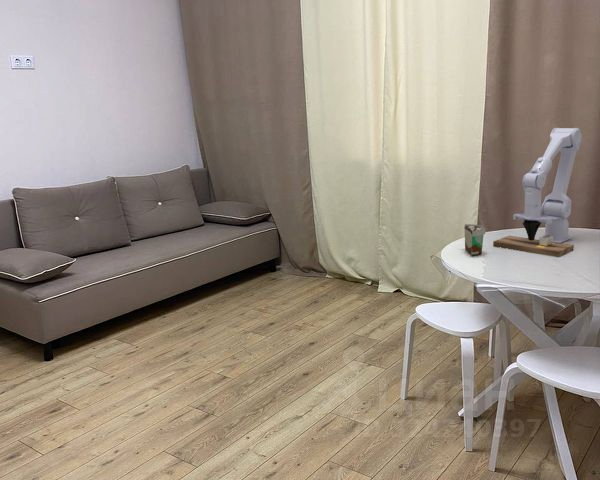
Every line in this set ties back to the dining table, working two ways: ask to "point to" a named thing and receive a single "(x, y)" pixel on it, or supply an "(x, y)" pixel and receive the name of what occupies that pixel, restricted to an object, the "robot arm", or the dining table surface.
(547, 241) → the fader knob
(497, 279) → the dining table surface
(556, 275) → the dining table surface
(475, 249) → the food container
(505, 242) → the fader console
